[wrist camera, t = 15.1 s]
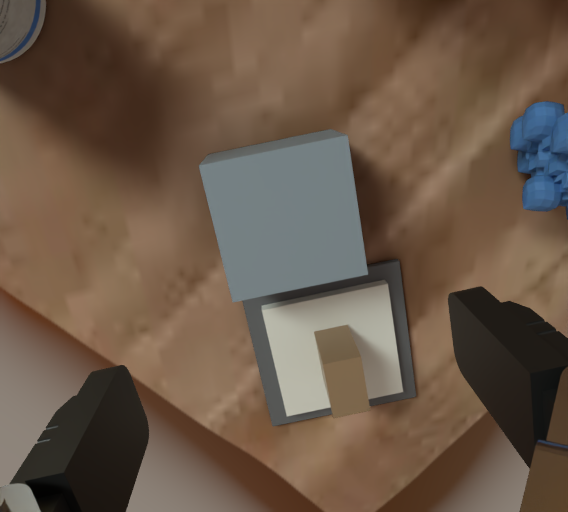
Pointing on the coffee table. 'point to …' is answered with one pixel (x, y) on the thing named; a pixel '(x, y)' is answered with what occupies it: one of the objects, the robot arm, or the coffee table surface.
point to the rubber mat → (375, 273)
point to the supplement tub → (19, 26)
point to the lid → (334, 349)
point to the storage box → (285, 214)
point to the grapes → (543, 155)
